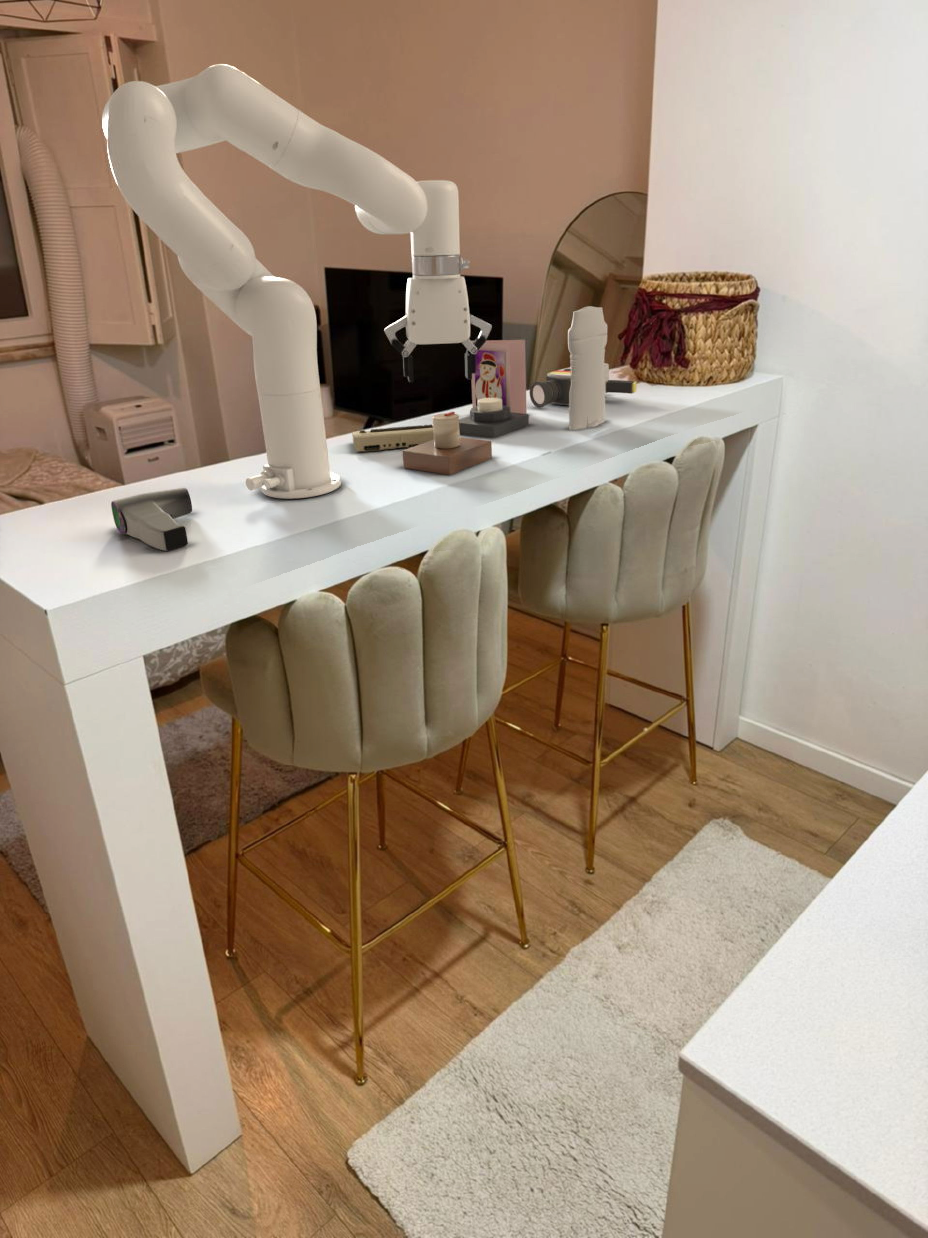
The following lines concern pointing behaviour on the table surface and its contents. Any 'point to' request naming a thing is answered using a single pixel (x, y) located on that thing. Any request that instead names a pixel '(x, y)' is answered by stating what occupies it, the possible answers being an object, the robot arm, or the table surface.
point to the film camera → (560, 384)
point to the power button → (489, 404)
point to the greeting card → (501, 374)
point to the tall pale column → (587, 368)
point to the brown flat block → (447, 456)
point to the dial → (446, 430)
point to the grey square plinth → (492, 422)
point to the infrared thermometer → (154, 517)
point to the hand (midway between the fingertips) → (439, 379)
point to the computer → (392, 437)
